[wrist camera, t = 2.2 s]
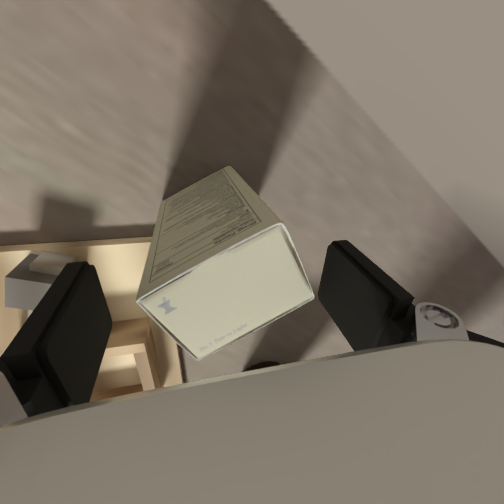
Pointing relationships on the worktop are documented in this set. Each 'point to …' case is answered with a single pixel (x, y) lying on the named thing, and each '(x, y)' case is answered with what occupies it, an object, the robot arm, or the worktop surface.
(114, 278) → the board
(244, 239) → the skincare box
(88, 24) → the worktop surface
